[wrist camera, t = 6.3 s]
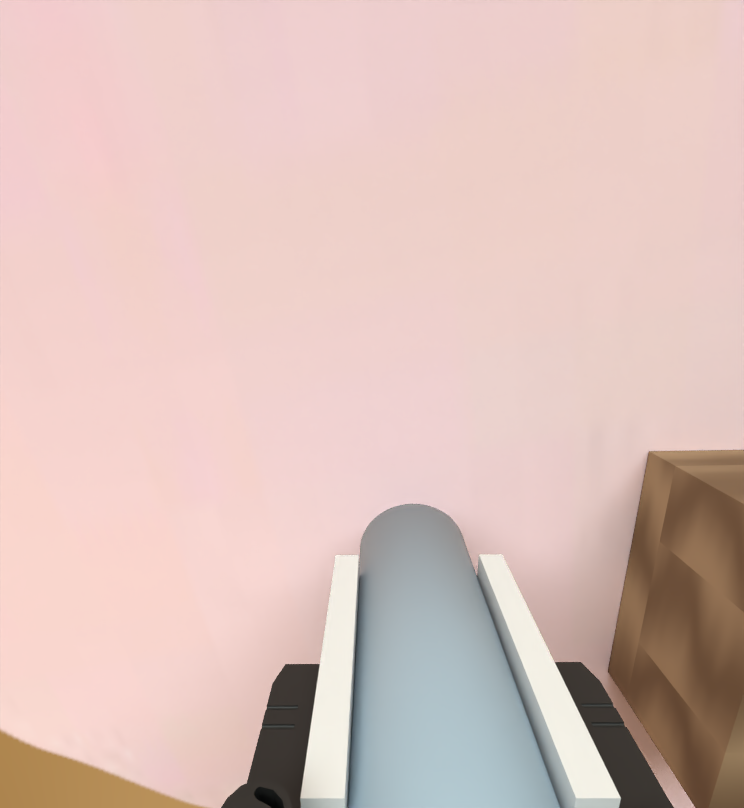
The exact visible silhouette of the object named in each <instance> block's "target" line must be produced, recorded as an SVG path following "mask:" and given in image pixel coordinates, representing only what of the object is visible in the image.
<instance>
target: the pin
mask: <svg viewBox="0 0 744 808" xmlns="http://www.w3.org/2000/svg"><path fill="white" fill-rule="evenodd" d="M347 808H560V805H559V802H558V799H557V797H556V794H555V791H554V788H553V785H552V783H551V780H550V777H549V774H548V772H547V769H546V766H545V763H544V761H543V758H542V755H541V752H540V750H539V747H538V744H537V741H536V738H535V736H534V733H533V730H532V727H531V725H530V722H529V719H528V716H527V714H526V711H525V708H524V705H523V702H522V700H521V697H520V694H519V691H518V689H517V686H516V683H515V680H514V678H513V675H512V672H511V669H510V667H509V664H508V661H507V658H506V655H505V653H504V650H503V647H502V644H501V642H500V639H499V636H498V633H497V631H496V628H495V625H494V622H493V619H492V617H491V614H490V611H489V608H488V606H487V603H486V600H485V597H484V595H483V592H482V589H481V586H480V584H479V581H478V578H477V575H476V572H475V570H474V567H473V564H472V561H471V559H470V556H469V553H468V550H467V548H466V545H465V542H464V539H463V536H462V534H461V531H460V529H459V528H458V526H457V525H456V523H455V522H454V521H453V520H452V519H451V518H450V517H449V516H448V515H447V514H445V513H444V512H442V511H440V510H438V509H436V508H434V507H430V506H427V505H421V504H405V505H400V506H396V507H393V508H390V509H388V510H386V511H384V512H383V513H381V514H380V515H378V516H377V517H376V518H375V519H374V520H373V521H372V522H371V523H370V524H369V525H368V527H367V528H366V530H365V532H364V534H363V537H362V540H361V545H360V562H359V594H358V613H357V632H356V652H355V671H354V690H353V710H352V729H351V748H350V768H349V787H348V806H347Z"/></svg>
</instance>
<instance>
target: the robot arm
mask: <svg viewBox="0 0 744 808" xmlns="http://www.w3.org/2000/svg"><path fill="white" fill-rule="evenodd" d="M477 578H478V581H479V584H480V586H481V589H482V592H483V595H484V597H485V600H486V603H487V606H488V608H489V611H490V614H491V617H492V619H493V622H494V625H495V628H496V631H497V633H498V636H499V639H500V642H501V644H502V647H503V650H504V653H505V655H506V658H507V661H508V664H509V667H510V669H511V672H512V675H513V678H514V680H515V683H516V686H517V689H518V691H519V694H520V697H521V700H522V702H523V705H524V708H525V711H526V714H527V716H528V719H529V722H530V725H531V727H532V730H533V733H534V736H535V738H536V741H537V744H538V747H539V750H540V752H541V755H542V758H543V761H544V763H545V766H546V769H547V772H548V774H549V777H550V780H551V783H552V785H553V788H554V791H555V794H556V797H557V799H558V802H559V805H560V808H674V807H673V806H672V804H671V803H670V801H669V799H668V798H667V796H666V794H665V793H664V791H663V789H662V787H661V786H660V784H659V782H658V780H657V779H656V777H655V775H654V774H653V772H652V770H651V768H650V767H649V765H648V763H647V761H646V760H645V758H644V756H643V755H642V753H641V751H640V749H639V748H638V746H637V744H636V743H635V741H634V739H633V737H632V736H631V734H630V732H629V730H628V729H627V727H625V726H624V722H623V720H622V718H621V717H620V715H619V713H618V711H617V710H616V708H614V707H613V703H612V701H611V699H610V698H609V696H608V694H607V692H606V691H605V689H604V687H603V686H602V684H601V682H600V681H599V680H598V679H597V678H596V677H595V676H594V675H593V674H592V673H591V672H590V671H589V670H588V669H587V668H586V667H585V666H584V665H583V664H582V663H581V662H554V660H553V658H552V656H551V654H550V652H549V650H548V648H547V645H546V643H545V641H544V639H543V637H542V635H541V633H540V631H539V629H538V627H537V625H536V623H535V621H534V619H533V617H532V615H531V613H530V611H529V609H528V606H527V604H526V602H525V600H524V598H523V596H522V594H521V592H520V590H519V588H518V586H517V584H516V582H515V580H514V578H513V576H512V574H511V572H510V570H509V567H508V565H507V563H506V561H505V559H504V557H503V555H502V554H479V561H478V575H477ZM358 594H359V555H336V557H335V564H334V570H333V577H332V584H331V591H330V598H329V605H328V612H327V618H326V625H325V632H324V639H323V646H322V653H321V659H320V664H286V665H285V666H284V668H283V669H282V671H281V672H280V673H279V675H278V676H277V678H276V679H275V681H274V682H273V684H272V688H271V692H270V696H269V700H268V704H267V710H266V712H265V715H264V719H263V723H262V729H261V731H260V735H259V739H258V742H257V746H256V750H255V754H254V758H253V762H252V766H251V769H250V773H249V777H248V781H247V784H244V785H242V786H240V787H239V788H238V789H237V790H236V791H235V792H234V793H233V794H232V795H230V796H229V797H228V798H227V799H226V801H225V803H224V804H223V806H222V807H221V808H347V806H348V787H349V768H350V748H351V729H352V710H353V690H354V671H355V652H356V632H357V613H358Z"/></svg>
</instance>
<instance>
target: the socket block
mask: <svg viewBox="0 0 744 808" xmlns="http://www.w3.org/2000/svg"><path fill="white" fill-rule="evenodd" d="M608 672H609V674H610V675H611V677H612V678H613V680H614V681H615V683H616V685H617V686H618V688H619V689H620V691H621V692H622V694H623V695H624V697H625V699H626V700H627V702H628V703H629V705H630V706H631V708H632V709H633V711H634V713H635V714H636V716H637V717H638V719H639V720H640V722H641V723H642V725H643V727H644V728H645V730H646V731H647V733H648V734H649V736H650V737H651V739H652V741H653V742H654V744H655V745H656V747H657V748H658V750H659V751H660V753H661V755H662V756H663V758H664V759H665V761H666V762H667V764H668V765H669V767H670V769H671V770H672V772H673V773H674V775H675V776H676V778H677V779H678V781H679V783H680V784H681V786H682V787H683V789H684V790H685V792H686V793H687V795H688V797H689V798H690V800H691V801H692V803H693V804H694V806H695V808H744V450H711V451H649V455H648V460H647V466H646V471H645V476H644V482H643V487H642V493H641V498H640V503H639V509H638V514H637V519H636V525H635V530H634V535H633V541H632V546H631V551H630V557H629V562H628V567H627V573H626V578H625V583H624V589H623V594H622V599H621V605H620V610H619V615H618V621H617V626H616V631H615V637H614V642H613V648H612V653H611V658H610V664H609V669H608Z"/></svg>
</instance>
